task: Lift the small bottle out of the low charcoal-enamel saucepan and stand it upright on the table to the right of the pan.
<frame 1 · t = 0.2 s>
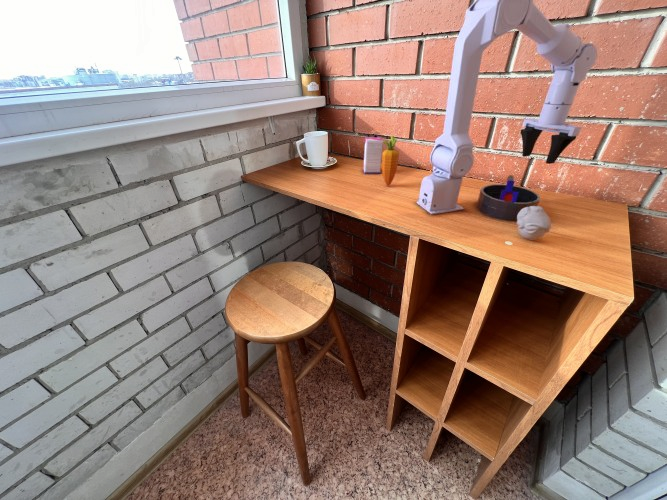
hand: (537, 159, 77), 10 cm above the table, tool pointing down, fingers open, 7 cm apart
supplement box: (371, 172, 104), on the table
pot handle: (510, 182, 80), point 3 cm above the table
small bottle: (504, 209, 74), resting on pot
carrot: (387, 186, 91), on the table
frog figurine: (527, 238, 62), on the table
pot: (504, 209, 74), on the table
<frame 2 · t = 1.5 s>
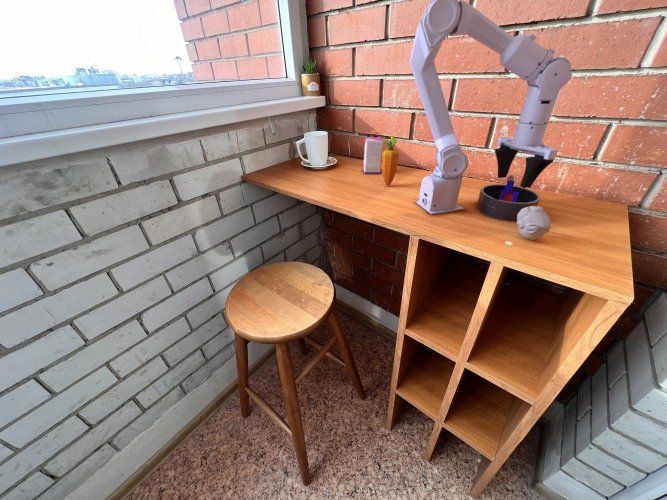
hand: (513, 182, 70), 8 cm above the table, tool pointing down, fingers open, 7 cm apart
nothing on the table moved.
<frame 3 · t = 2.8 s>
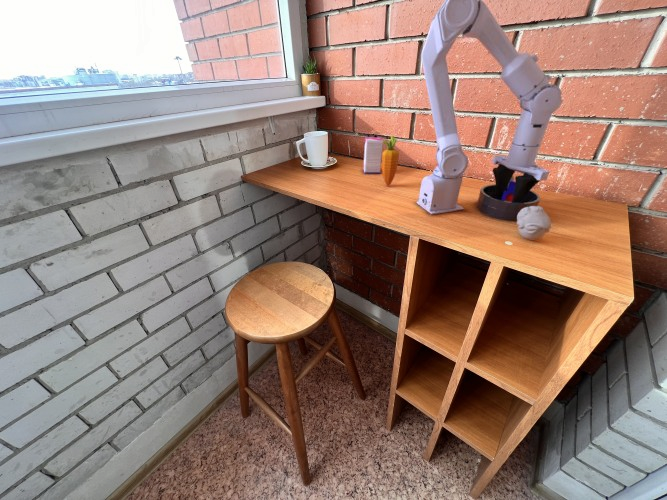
hand: (507, 199, 73), 3 cm above the table, tool pointing down, fingers closed on small bottle, 5 cm apart
small bottle: (506, 210, 73), resting on pot, touching gripper
everything else where it was.
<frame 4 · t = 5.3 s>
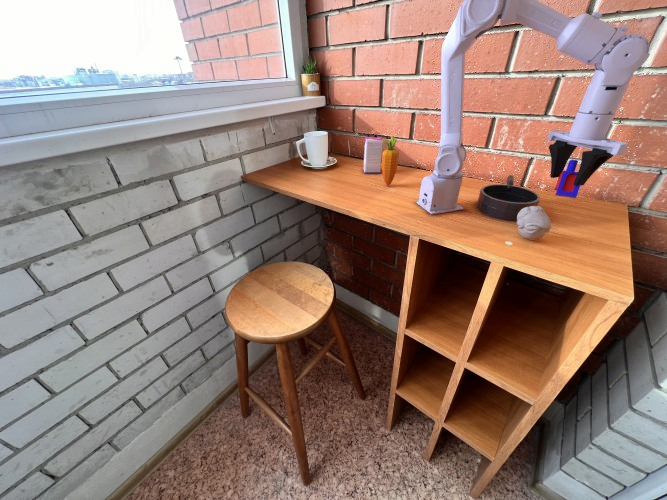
hand: (566, 181, 62), 10 cm above the table, tool pointing down, fingers closed on small bottle, 5 cm apart
small bottle: (563, 194, 63), point 8 cm above the table, touching gripper
everything else where it was.
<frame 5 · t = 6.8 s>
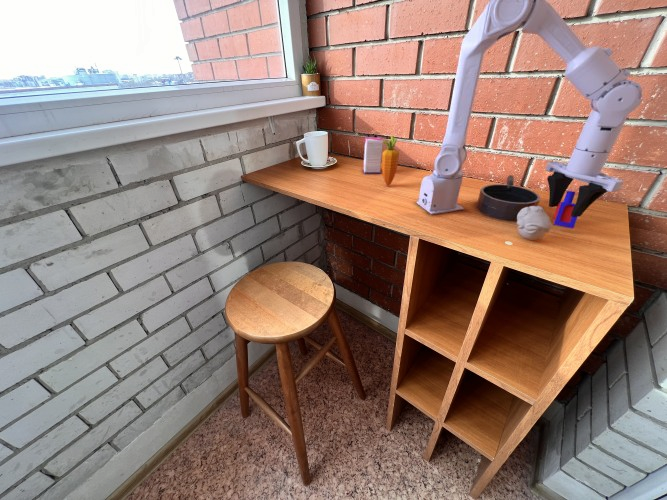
hand: (564, 211, 64), 4 cm above the table, tool pointing down, fingers closed on small bottle, 5 cm apart
small bottle: (561, 223, 65), point 1 cm above the table, touching gripper
everything else where it was.
when the fingers open (2 cm above the table, at t = 7.8 s): small bottle stays where it is, on the table.
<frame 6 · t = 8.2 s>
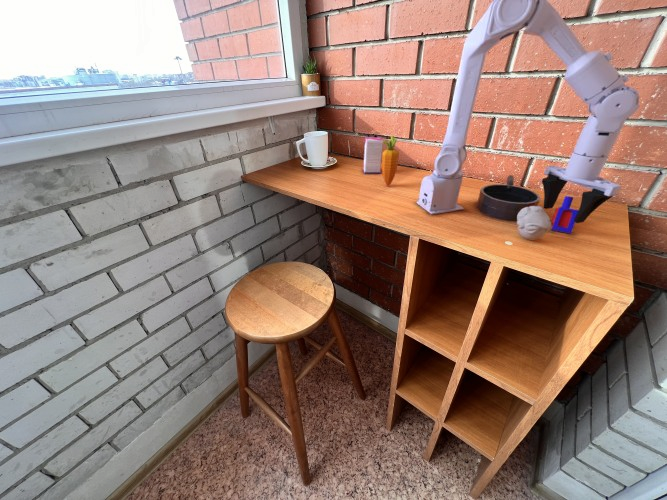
hand: (562, 214, 65), 3 cm above the table, tool pointing down, fingers open, 7 cm apart
small bottle: (559, 228, 66), on the table
everything else where it was.
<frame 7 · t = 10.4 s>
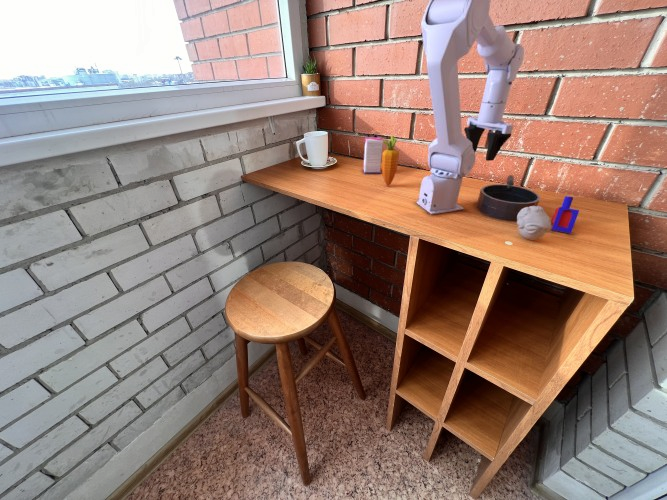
hand: (480, 156, 80), 10 cm above the table, tool pointing down, fingers open, 7 cm apart
nothing on the table moved.
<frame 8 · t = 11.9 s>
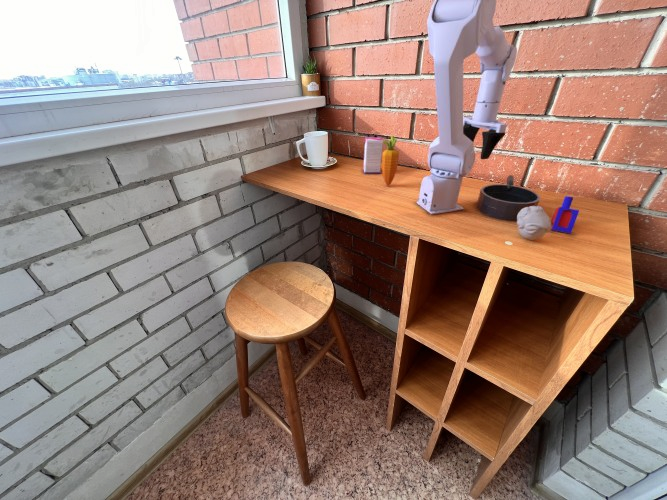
hand: (475, 155, 81), 10 cm above the table, tool pointing down, fingers open, 7 cm apart
nothing on the table moved.
at the end: small bottle 0.8 cm from the target spot, on the table; small bottle tilted 1°; small bottle touching table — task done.
